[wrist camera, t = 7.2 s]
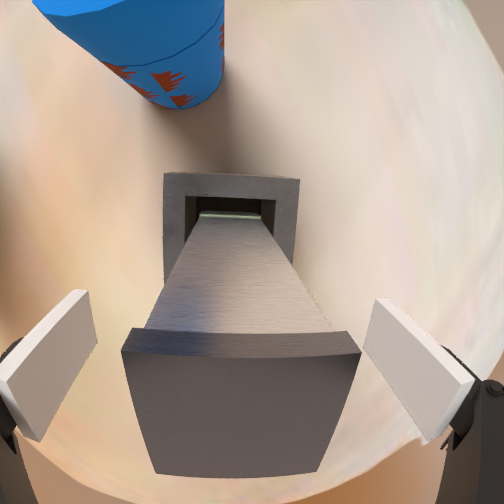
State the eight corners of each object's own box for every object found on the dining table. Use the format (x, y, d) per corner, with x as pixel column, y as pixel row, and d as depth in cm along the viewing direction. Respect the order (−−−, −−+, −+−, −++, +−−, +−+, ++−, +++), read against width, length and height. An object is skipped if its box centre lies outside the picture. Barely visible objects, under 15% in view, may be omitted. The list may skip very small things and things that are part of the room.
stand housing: (179, 266, 37) (163, 304, 26) (181, 171, 34) (161, 173, 23) (272, 269, 38) (289, 307, 28) (279, 176, 35) (302, 179, 24)
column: (199, 269, 29) (158, 480, 7) (201, 208, 27) (121, 350, 6) (254, 270, 29) (312, 479, 8) (258, 210, 27) (361, 352, 6)
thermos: (178, 24, 28) (133, -110, 4) (242, 62, 30) (271, -79, 6) (123, 85, 30) (1, 1, 6) (186, 127, 32) (106, 50, 8)
